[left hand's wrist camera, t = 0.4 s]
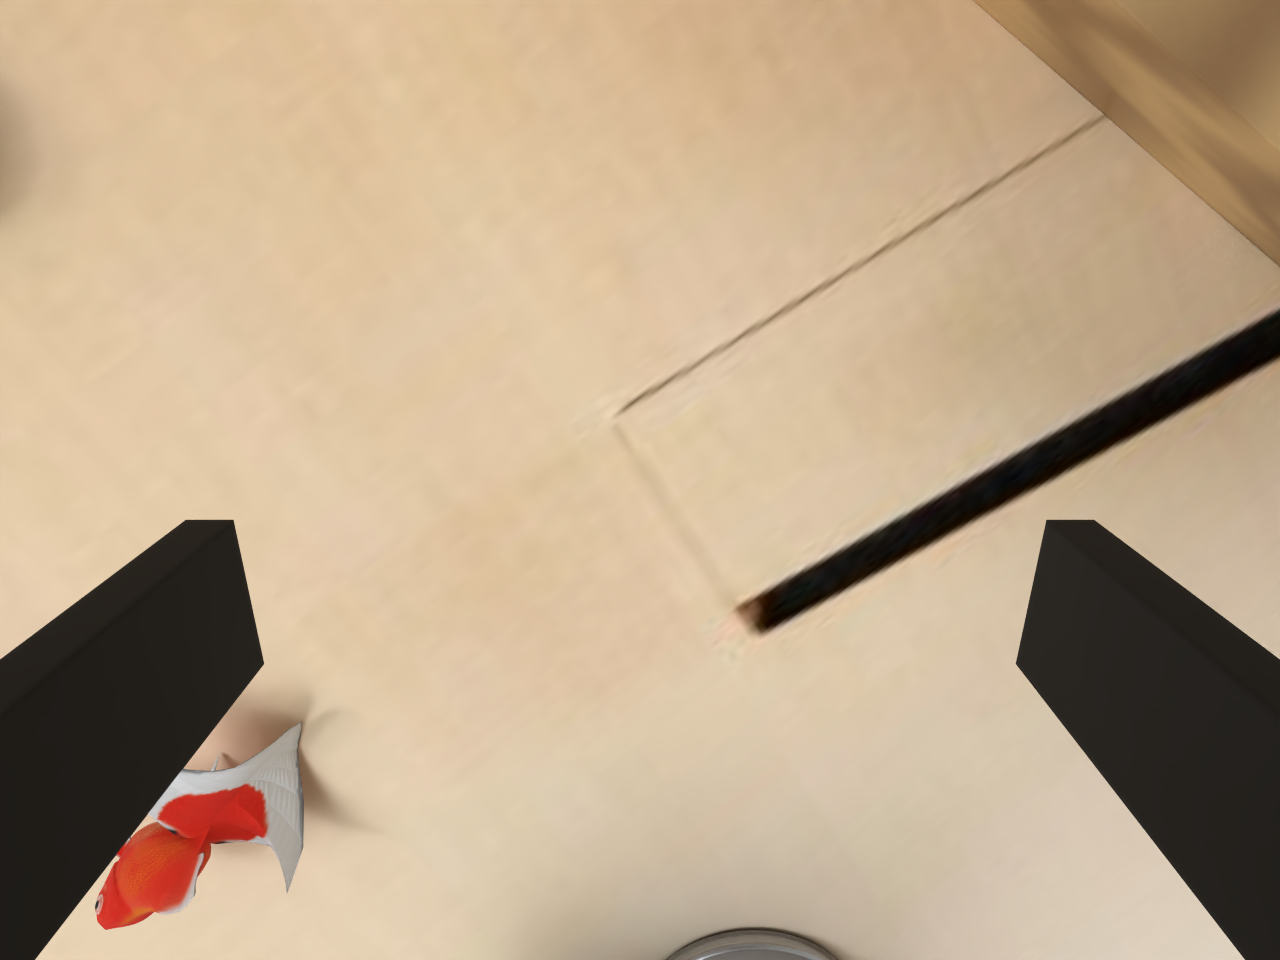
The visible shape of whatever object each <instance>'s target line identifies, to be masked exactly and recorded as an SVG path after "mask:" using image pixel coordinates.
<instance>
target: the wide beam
mask: <svg viewBox="0 0 1280 960" xmlns="http://www.w3.org/2000/svg"><path fill="white" fill-rule="evenodd" d="M974 1H975V2H976V3H977V4H978V5H979V6H980V7H982V8H983V9H984V10H985V11H986V12H987V13H989V14H990V15H991V16H992V17H993V18H994V19H995V20H997V21H998V22H999V23H1000V24H1001V25H1002V26H1003V27H1005V28H1006V29H1007V30H1008V31H1009V32H1010V33H1012V34H1013V35H1014V36H1015V37H1016V38H1017V39H1018V40H1020V41H1021V42H1022V43H1023V44H1024V45H1025V46H1027V47H1028V48H1029V49H1030V50H1031V51H1032V52H1033V53H1035V54H1036V55H1037V56H1038V57H1039V58H1040V59H1041V60H1043V61H1044V62H1045V63H1046V64H1047V65H1048V66H1050V67H1051V68H1052V69H1053V70H1054V71H1055V72H1056V73H1058V74H1059V75H1060V76H1061V77H1062V78H1063V79H1064V80H1066V81H1067V82H1068V83H1069V84H1070V85H1071V86H1073V87H1074V88H1075V89H1076V90H1077V91H1078V92H1079V93H1081V94H1082V95H1083V96H1084V97H1085V98H1086V99H1087V100H1089V101H1090V102H1091V103H1092V104H1093V105H1094V106H1096V107H1097V108H1098V109H1099V110H1100V111H1101V112H1102V113H1104V114H1105V115H1106V116H1107V117H1108V118H1109V119H1110V120H1112V121H1113V122H1114V123H1115V124H1116V125H1117V126H1119V127H1120V128H1121V129H1122V130H1123V131H1124V132H1125V133H1127V134H1128V135H1129V136H1130V137H1131V138H1132V139H1133V140H1135V141H1136V142H1137V143H1138V144H1139V145H1140V146H1142V147H1143V148H1144V149H1145V150H1146V151H1147V152H1148V153H1150V154H1151V155H1152V156H1153V157H1154V158H1155V159H1157V160H1158V161H1159V162H1160V163H1161V164H1162V165H1163V166H1165V167H1166V168H1167V169H1168V170H1169V171H1170V172H1171V173H1173V174H1174V175H1175V176H1176V177H1177V178H1178V179H1180V180H1181V181H1182V182H1183V183H1184V184H1185V185H1186V186H1188V187H1189V188H1190V189H1191V190H1192V191H1193V192H1194V193H1196V194H1197V195H1198V196H1199V197H1200V198H1201V199H1203V200H1204V201H1205V202H1206V203H1207V204H1208V205H1209V206H1211V207H1212V208H1213V209H1214V210H1215V211H1216V212H1217V213H1219V214H1220V215H1221V216H1222V217H1223V218H1224V219H1226V220H1227V221H1228V222H1229V223H1230V224H1231V225H1232V226H1234V227H1235V228H1236V229H1237V230H1238V231H1239V232H1240V233H1242V234H1243V235H1244V236H1245V237H1246V238H1247V239H1249V240H1250V241H1251V242H1252V243H1253V244H1254V245H1255V246H1257V247H1258V248H1259V249H1260V250H1261V251H1262V252H1263V253H1265V254H1266V255H1267V256H1268V257H1269V258H1270V259H1272V260H1273V261H1274V262H1275V263H1276V264H1277V265H1278V266H1280V0H974Z"/></svg>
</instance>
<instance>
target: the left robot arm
mask: <svg viewBox="0 0 1280 960" xmlns="http://www.w3.org/2000/svg"><path fill="white" fill-rule="evenodd" d="M263 665H264V661H263V656H262V652H261V647H260V642H259V637H258V633H257V628H256V623H255V619H254V614H253V609H252V605H251V600H250V595H249V591H248V586H247V581H246V577H245V572H244V567H243V562H242V558H241V553H240V548H239V544H238V539H237V534H236V530H235V525H234V520H185V521H184V522H183V523H181V524H180V525H179V526H177V527H176V528H175V529H173V530H172V531H171V532H169V533H168V534H167V535H165V536H164V537H163V538H161V539H160V540H159V541H157V542H156V543H155V544H153V545H152V546H151V547H149V548H148V549H147V550H145V551H144V552H143V553H141V554H140V555H139V556H137V557H136V558H135V559H133V560H132V561H131V562H129V563H128V564H127V565H125V566H124V567H123V568H121V569H120V570H119V571H117V572H116V573H115V574H113V575H112V576H111V577H109V578H108V579H107V580H105V581H104V582H103V583H101V584H100V585H99V586H97V587H96V588H95V589H93V590H92V591H91V592H89V593H88V594H87V595H85V596H84V597H83V598H81V599H80V600H79V601H77V602H76V603H75V604H73V605H72V606H71V607H69V608H68V609H67V610H65V611H64V612H63V613H61V614H60V615H59V616H57V617H56V618H55V619H53V620H52V621H51V622H49V623H48V624H47V625H45V626H44V627H43V628H42V629H40V630H39V631H38V632H36V633H35V634H34V635H32V636H31V637H30V638H28V639H27V640H26V641H24V642H23V643H22V644H20V645H19V646H18V647H16V648H15V649H14V650H12V651H11V652H10V653H8V654H7V655H6V656H4V657H3V658H2V659H0V960H35V959H36V958H37V956H38V955H39V954H40V952H41V951H42V950H43V949H44V947H45V946H46V945H47V943H48V942H49V941H50V940H51V938H52V937H53V936H54V934H55V933H56V932H57V931H58V929H59V928H60V927H61V925H62V924H63V923H64V922H65V920H66V919H67V918H68V916H69V915H70V914H71V912H72V911H73V910H74V909H75V907H76V906H77V905H78V903H79V902H80V901H81V900H82V898H83V897H84V896H85V894H86V893H87V892H88V891H89V889H90V888H91V887H92V885H93V884H94V883H95V881H96V880H97V879H98V878H99V876H100V875H101V874H102V872H103V871H104V870H105V869H106V867H107V866H108V865H109V863H110V862H111V861H112V860H113V858H114V857H115V856H116V854H117V853H118V852H119V851H120V849H121V848H122V847H123V845H124V844H125V843H126V841H127V840H128V839H129V838H130V836H131V835H132V834H133V832H134V831H135V830H136V829H137V827H138V826H139V825H140V823H141V822H142V821H143V820H144V818H145V817H146V816H147V814H148V813H149V812H150V811H151V809H152V808H153V807H154V805H155V804H156V803H157V801H158V800H159V799H160V798H161V796H162V795H163V794H164V792H165V791H166V790H167V789H168V787H169V786H170V785H171V783H172V782H173V781H174V780H175V778H176V777H177V776H178V774H179V773H180V772H181V770H182V769H183V768H184V767H185V765H186V764H187V763H188V761H189V760H190V759H191V758H192V756H193V755H194V754H195V752H196V751H197V750H198V749H199V747H200V746H201V745H202V743H203V742H204V741H205V740H206V738H207V737H208V736H209V734H210V733H211V732H212V730H213V729H214V728H215V727H216V725H217V724H218V723H219V721H220V720H221V719H222V718H223V716H224V715H225V714H226V712H227V711H228V710H229V709H230V707H231V706H232V705H233V703H234V702H235V701H236V699H237V698H238V697H239V696H240V694H241V693H242V692H243V690H244V689H245V688H246V687H247V685H248V684H249V683H250V681H251V680H252V679H253V678H254V676H255V675H256V674H257V672H258V671H259V670H260V669H261V667H262V666H263ZM1016 665H1017V666H1018V667H1019V669H1020V670H1021V671H1022V672H1023V674H1024V675H1025V676H1026V678H1027V679H1028V680H1029V681H1030V683H1031V684H1032V685H1033V687H1034V688H1035V689H1036V690H1037V692H1038V693H1039V694H1040V696H1041V697H1042V698H1043V699H1044V701H1045V702H1046V703H1047V705H1048V706H1049V707H1050V709H1051V710H1052V711H1053V712H1054V714H1055V715H1056V716H1057V718H1058V719H1059V720H1060V721H1061V723H1062V724H1063V725H1064V727H1065V728H1066V729H1067V730H1068V732H1069V733H1070V734H1071V736H1072V737H1073V738H1074V740H1075V741H1076V742H1077V743H1078V745H1079V746H1080V747H1081V749H1082V750H1083V751H1084V752H1085V754H1086V755H1087V756H1088V758H1089V759H1090V760H1091V761H1092V763H1093V764H1094V765H1095V767H1096V768H1097V769H1098V770H1099V772H1100V773H1101V774H1102V776H1103V777H1104V778H1105V780H1106V781H1107V782H1108V783H1109V785H1110V786H1111V787H1112V789H1113V790H1114V791H1115V792H1116V794H1117V795H1118V796H1119V798H1120V799H1121V800H1122V801H1123V803H1124V804H1125V805H1126V807H1127V808H1128V809H1129V811H1130V812H1131V813H1132V814H1133V816H1134V817H1135V818H1136V820H1137V821H1138V822H1139V823H1140V825H1141V826H1142V827H1143V829H1144V830H1145V831H1146V832H1147V834H1148V835H1149V836H1150V838H1151V839H1152V840H1153V841H1154V843H1155V844H1156V845H1157V847H1158V848H1159V849H1160V851H1161V852H1162V853H1163V854H1164V856H1165V857H1166V858H1167V860H1168V861H1169V862H1170V863H1171V865H1172V866H1173V867H1174V869H1175V870H1176V871H1177V872H1178V874H1179V875H1180V876H1181V878H1182V879H1183V880H1184V882H1185V883H1186V884H1187V885H1188V887H1189V888H1190V889H1191V891H1192V892H1193V893H1194V894H1195V896H1196V897H1197V898H1198V900H1199V901H1200V902H1201V903H1202V905H1203V906H1204V907H1205V909H1206V910H1207V911H1208V912H1209V914H1210V915H1211V916H1212V918H1213V919H1214V920H1215V922H1216V923H1217V924H1218V925H1219V927H1220V928H1221V929H1222V931H1223V932H1224V933H1225V934H1226V936H1227V937H1228V938H1229V940H1230V941H1231V942H1232V943H1233V945H1234V946H1235V947H1236V949H1237V950H1238V951H1239V952H1240V954H1241V955H1242V956H1243V958H1244V959H1245V960H1280V659H1278V658H1277V657H1276V656H1274V655H1273V654H1272V653H1270V652H1269V651H1268V650H1266V649H1265V648H1264V647H1262V646H1261V645H1260V644H1258V643H1257V642H1256V641H1254V640H1253V639H1252V638H1250V637H1249V636H1248V635H1246V634H1245V633H1244V632H1242V631H1241V630H1240V629H1238V628H1237V627H1236V626H1235V625H1233V624H1232V623H1231V622H1229V621H1228V620H1227V619H1225V618H1224V617H1223V616H1221V615H1220V614H1219V613H1217V612H1216V611H1215V610H1213V609H1212V608H1211V607H1209V606H1208V605H1207V604H1205V603H1204V602H1203V601H1201V600H1200V599H1199V598H1197V597H1196V596H1195V595H1193V594H1192V593H1191V592H1189V591H1188V590H1187V589H1185V588H1184V587H1183V586H1181V585H1180V584H1179V583H1177V582H1176V581H1175V580H1173V579H1172V578H1171V577H1169V576H1168V575H1167V574H1165V573H1164V572H1163V571H1161V570H1160V569H1159V568H1157V567H1156V566H1155V565H1153V564H1152V563H1151V562H1149V561H1148V560H1147V559H1145V558H1144V557H1143V556H1141V555H1140V554H1139V553H1137V552H1136V551H1135V550H1133V549H1132V548H1131V547H1129V546H1128V545H1127V544H1125V543H1124V542H1123V541H1121V540H1120V539H1119V538H1117V537H1116V536H1115V535H1113V534H1112V533H1111V532H1109V531H1108V530H1107V529H1105V528H1104V527H1103V526H1101V525H1100V524H1099V523H1097V522H1096V521H1095V520H1046V525H1045V530H1044V534H1043V539H1042V544H1041V548H1040V553H1039V558H1038V562H1037V567H1036V572H1035V577H1034V581H1033V586H1032V591H1031V595H1030V600H1029V605H1028V609H1027V614H1026V619H1025V623H1024V628H1023V633H1022V637H1021V642H1020V647H1019V652H1018V656H1017V661H1016ZM667 960H836V959H835V958H834V957H833V956H832V955H831V954H830V953H828V952H827V951H826V950H824V949H823V948H821V947H819V946H818V945H816V944H814V943H812V942H810V941H807V940H805V939H803V938H800V937H796V936H793V935H789V934H785V933H780V932H774V931H764V930H744V931H734V932H727V933H722V934H718V935H714V936H711V937H707V938H705V939H702V940H699V941H697V942H694V943H692V944H690V945H688V946H686V947H685V948H683V949H681V950H679V951H678V952H676V953H675V954H673V955H672V956H671V957H670V958H669V959H667Z"/></svg>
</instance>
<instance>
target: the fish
mask: <svg viewBox="0 0 1280 960" xmlns="http://www.w3.org/2000/svg"><path fill="white" fill-rule="evenodd" d="M301 727H302V722H300V723H298V724H297V725H295V726H293V727H292V728H290V729H289V730H288V731H286V732H285V733H284V734H283V735H282V736H280V737H279V738H278V739H277V740H276V741H274V742H273V743H272V744H271V745H270V746H269V747H267V748H266V749H264V750H263V751H261V752H260V753H258V754H256V755H255V756H253V757H252V758H250V759H248V760H247V761H245V762H243V763H242V764H240V765H238V766H237V767H235V768H230V769H224V770H217V771H215V769H216V766H217V762H218V759H219V756H218V757H217V759H216V761H215V763H214V765H213V767H212V769H211V771H200V770H186V769H182V770H181V772H180V773H179V774H178V776H177V777H176V778H175V780H174V781H173V782H172V783H171V785H170V786H169V787H168V789H167V790H166V791H165V792H164V794H163V795H162V796H161V798H160V799H159V800H158V801H157V803H156V804H155V805H154V807H153V808H152V809H151V811H150V812H149V813H148V814H149V815H150V816H151V817H153V818H154V819H155V820H156V821H157V822H155V823H152V824H149V825H147V826H146V827H144V828H142V829H141V830H139V831H138V832H137V833H136V834H135V835H134V836H133V837H132V838H131V837H130V838H129V839H128V840H127V841H126V843H125V844H124V845H123V847H122V848H121V849H120V851H119V852H118V853H117V854H116V855H117V856H118V857H120V859H119V861H117V862H116V863H114V865H113V867H112V869H111V871H110V873H109V875H108V878H107V880H106V882H105V884H104V886H103V888H102V890H101V891H100V893H99V896H98V898H97V902H96V905H95V911H96V914H97V921H98V923H99V924H100V925H101V926H102V927H103V928H104V929H106V930H107V929H112V928H118V927H124V926H129V925H133V924H136V923H138V922H140V921H143V920H144V919H146V918H147V917H149V916H150V915H151V914H152V913H154V912H157V913H159V914H166V915H167V914H172V913H176V912H179V911H181V910H182V909H183V908H184V907H186V906H187V905H188V903H189V902H190V901H191V899H192V898H193V897H194V895H195V885H196V879H197V877H198V876H199V874H200V873H201V871H202V870H203V868H204V867H205V865H206V863H207V861H208V860H209V858H210V854H211V844H210V843H213V844H220V843H231V842H242V841H248V842H253V843H257V844H263V845H269V846H270V847H271V848H272V849H273V850H274V851H275V853H276V855H277V857H278V860H279V862H280V864H281V867H282V870H283V874H284V878H285V882H286V889H287V893H288V890H289V887H290V884H291V881H292V878H293V875H294V872H295V869H296V866H297V864H298V861H299V858H300V855H301V852H302V849H303V819H304V800H303V792H302V784H301V777H300V768H299V760H298V751H297V748H298V744H299V739H300V734H301Z"/></svg>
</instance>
